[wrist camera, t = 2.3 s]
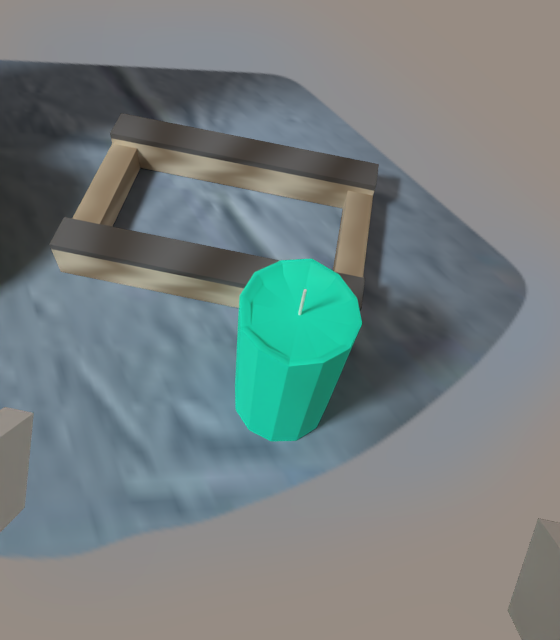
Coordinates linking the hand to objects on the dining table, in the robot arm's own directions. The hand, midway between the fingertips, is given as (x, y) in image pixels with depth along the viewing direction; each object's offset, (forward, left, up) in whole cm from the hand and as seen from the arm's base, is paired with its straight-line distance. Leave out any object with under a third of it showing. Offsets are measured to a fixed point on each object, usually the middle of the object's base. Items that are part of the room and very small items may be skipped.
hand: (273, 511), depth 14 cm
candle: (0, +11, -18) cm, 21 cm away
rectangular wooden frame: (-7, +24, -17) cm, 30 cm away
